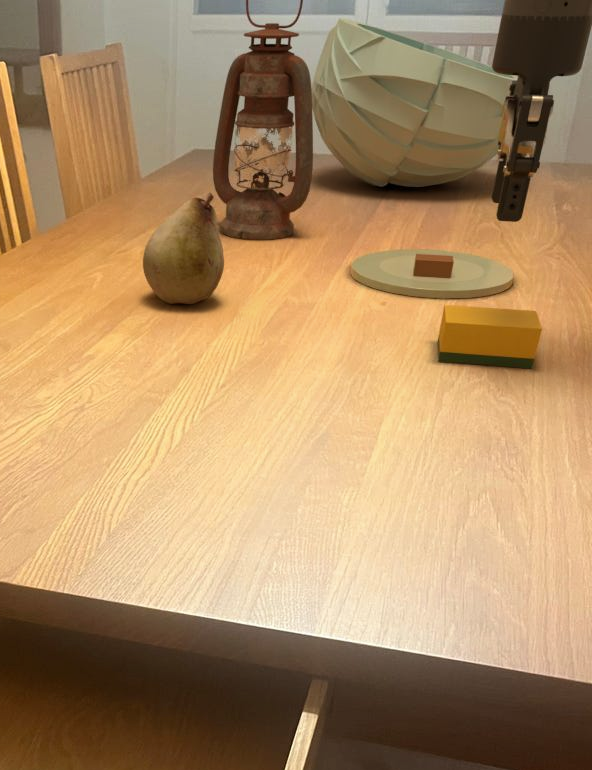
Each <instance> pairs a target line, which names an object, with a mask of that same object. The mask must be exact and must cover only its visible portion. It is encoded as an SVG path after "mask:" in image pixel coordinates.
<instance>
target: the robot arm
mask: <svg viewBox="0 0 592 770" xmlns="http://www.w3.org/2000/svg"><path fill="white" fill-rule="evenodd" d="M591 31H592V0H504V1H503V7H502V13H501V16H500V22H499V28H498V33H497V37H496V43H495V48H494V53H493V59H492V64H491V66H492V68H493V70H494V71H495V72H496V73H499V74H504V75H515V76H517V77H518V78H517V80H513V81H512V85H510V88H509V91H510V95H509V96H506V97H505V100H504V104H503V112H502V117H503V118H502V122H501V126H500V131H499V139H498V140H499V141H498V145H499V149H498V153H497V154H496V156H498V157H497V158H498V164H497V169H496V174H495V178H494V184H493V187H492V193H491V200H492V202H493V203H494V204H498V205H497V209H496V212H495V213H496V214H495V216H496V219H497V220H498V221H499V222H509V223H510V222H511V223H512V222H513V223H518V222H519V221H521V219H522V218H523V214H524V210H525V205H526V201H527V196H528V192H529V187H530V183H531V180H532V179H531V178H533V177H534V174H537V172H538V170H539V169H540V166H541V162H540V161H541V155H542V152H543V151H542V150H543V149H544V146H545V144H546V139H547V138H546V137H547V132H548V125H549V122H550V119H551V117H552V115H553V111H554V104H555V99H554V94H549V91H550V83H551V81H552V80H553V79H554V78H555V77H570V76H575V75H577V74H578V73H579V72H580V71H581V70H582V68H583V63H584V60H585V56H586V52H587V48H588V43H589V39H590V35H591Z"/></svg>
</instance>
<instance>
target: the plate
mask: <svg viewBox="0 0 592 770" xmlns="http://www.w3.org/2000/svg"><path fill="white" fill-rule="evenodd" d="M416 254H429V255H447V256H453V260H454V263H453V268H452V274H451V278H437V277H421V276H413V268H414V263H415V257H416ZM350 268H351V269H350V275H351V277H352V278H353V279H354V280H355V281H357V282H359V284H362V285H364V286H366V287H369V288H372V289H375V290H379V291H383V292H387V293H390V294H396V295H401V296H408V297H417V298H425V299H426V298H427V299H428V298H429V299H449V300H451V299H452V300H453V299H471V298H472V299H473V298H482V297H488V296H492V295H495V294H496V295H497V294H500V293H502V292H505V291H507V290H508V289H509V288H510V287H512V285H513V281H514V277H515V273H514V272H513V270H512V269H511V268H510V267H509V266H507V265H505V264H503V263H501V262H499V261H496V260H494V259H490V258H487V257H483V256H479V255H475V254H470V253H464V252H457V251H448V250H440V249H439V250H438V249H419V248H418V249H417V248H416V249H415V248H413V249H412V248H409V249H406V248H405V249H391V250H382V251H381V250H380V251H375V252H371V253H366V254H363V255H360V256H358V257H357V258H355V259H354V260H353V261H352V263H351V266H350Z"/></svg>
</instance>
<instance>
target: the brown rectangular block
mask: <svg viewBox="0 0 592 770" xmlns="http://www.w3.org/2000/svg"><path fill="white" fill-rule="evenodd" d="M453 263H454V260H453V256H447V255H429V254H416V257H415V263H414V268H413V276H421V277H437V278H451V274H452V268H453Z"/></svg>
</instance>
